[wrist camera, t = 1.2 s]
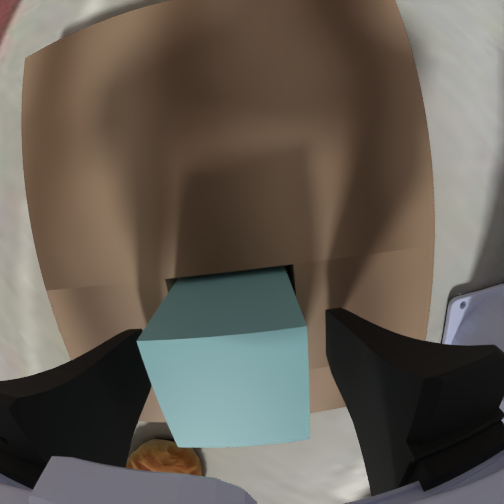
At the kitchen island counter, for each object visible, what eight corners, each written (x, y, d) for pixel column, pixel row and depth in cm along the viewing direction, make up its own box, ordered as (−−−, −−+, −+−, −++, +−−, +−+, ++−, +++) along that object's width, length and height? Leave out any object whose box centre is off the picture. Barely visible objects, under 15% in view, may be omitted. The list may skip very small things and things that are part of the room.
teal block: (280, 255, 14) (306, 326, 7) (287, 338, 15) (309, 439, 8) (186, 267, 14) (136, 341, 7) (202, 347, 15) (177, 447, 8)
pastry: (128, 418, 17) (111, 457, 13) (221, 445, 18) (218, 487, 14) (125, 476, 19) (115, 507, 15) (197, 497, 20) (193, 529, 16)
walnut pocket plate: (375, 17, 11) (393, -4, 9) (398, 364, 16) (415, 388, 13) (50, 69, 11) (25, 58, 9) (113, 392, 16) (98, 417, 14)
